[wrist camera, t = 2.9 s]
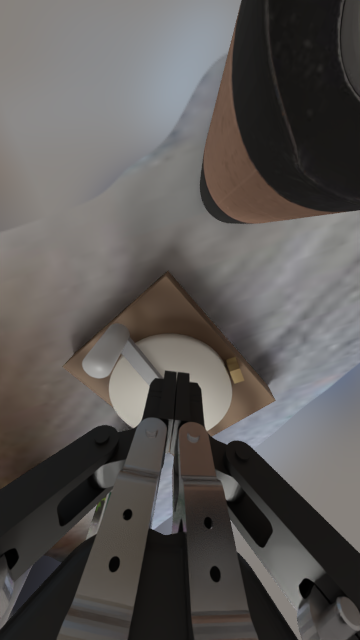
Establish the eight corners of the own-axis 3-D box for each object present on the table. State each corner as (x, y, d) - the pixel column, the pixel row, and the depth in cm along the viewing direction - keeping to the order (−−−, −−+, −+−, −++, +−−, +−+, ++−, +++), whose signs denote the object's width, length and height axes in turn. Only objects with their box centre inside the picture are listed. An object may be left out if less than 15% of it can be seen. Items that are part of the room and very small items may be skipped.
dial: (69, 348, 26) (23, 394, 19) (171, 283, 23) (164, 308, 15) (157, 440, 32) (148, 503, 25) (249, 399, 29) (270, 458, 21)
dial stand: (175, 439, 36) (174, 473, 31) (73, 354, 30) (51, 378, 25) (267, 385, 31) (283, 414, 26) (167, 270, 25) (163, 280, 20)
